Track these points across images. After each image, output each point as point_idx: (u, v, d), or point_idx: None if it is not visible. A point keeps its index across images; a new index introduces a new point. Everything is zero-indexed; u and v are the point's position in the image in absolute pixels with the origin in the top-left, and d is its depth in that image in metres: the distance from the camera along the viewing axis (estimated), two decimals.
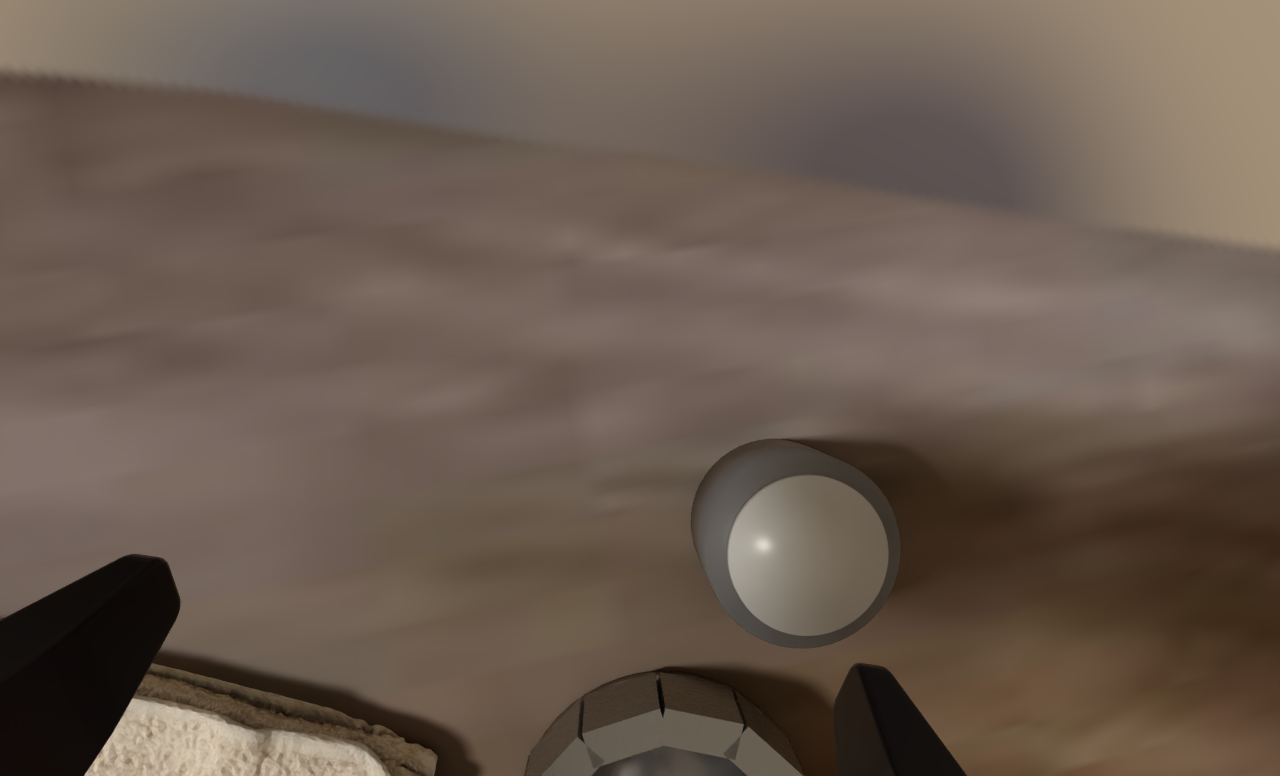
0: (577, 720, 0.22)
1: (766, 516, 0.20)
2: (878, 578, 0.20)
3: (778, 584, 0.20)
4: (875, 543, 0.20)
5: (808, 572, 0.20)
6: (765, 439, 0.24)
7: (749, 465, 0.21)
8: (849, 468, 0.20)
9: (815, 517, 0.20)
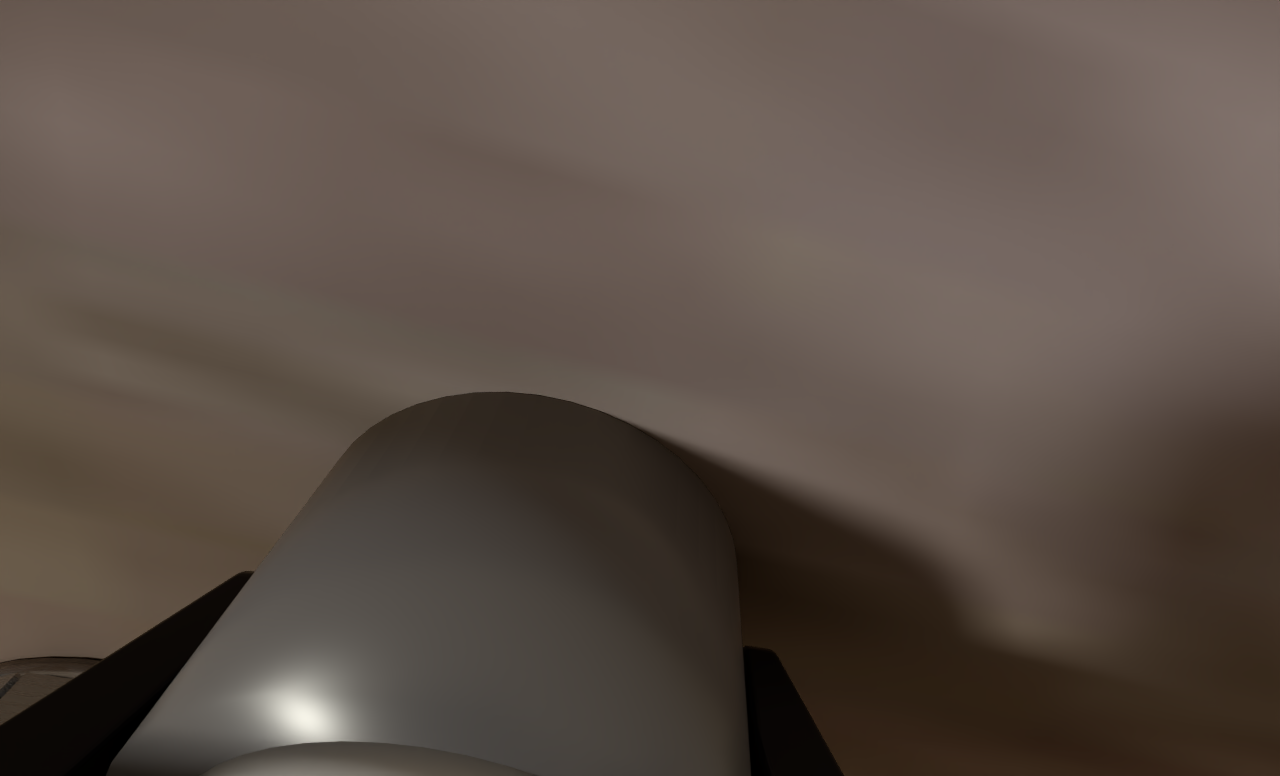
0: None
1: None
2: None
3: None
4: None
5: None
6: (584, 411, 0.08)
7: (359, 613, 0.05)
8: None
9: None
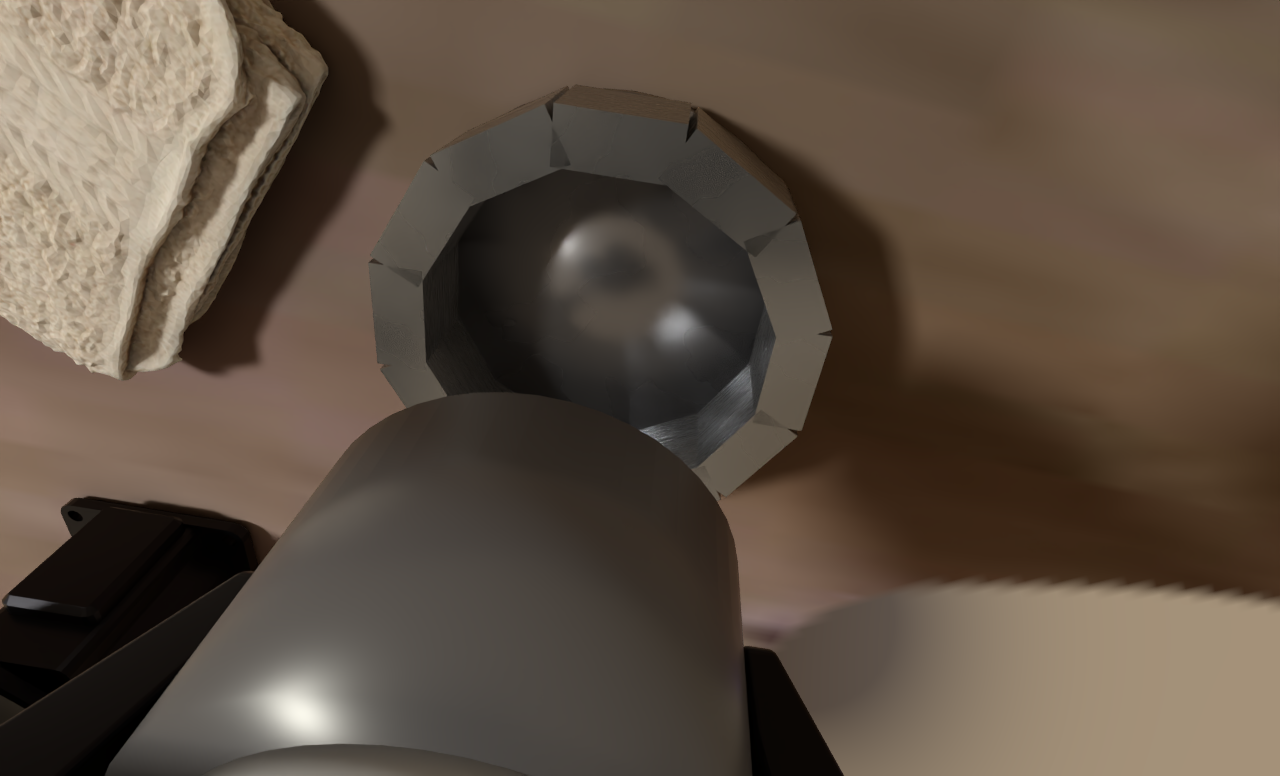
0: (552, 96, 0.14)
1: None
2: None
3: None
4: None
5: None
6: (585, 411, 0.08)
7: (358, 614, 0.05)
8: None
9: None
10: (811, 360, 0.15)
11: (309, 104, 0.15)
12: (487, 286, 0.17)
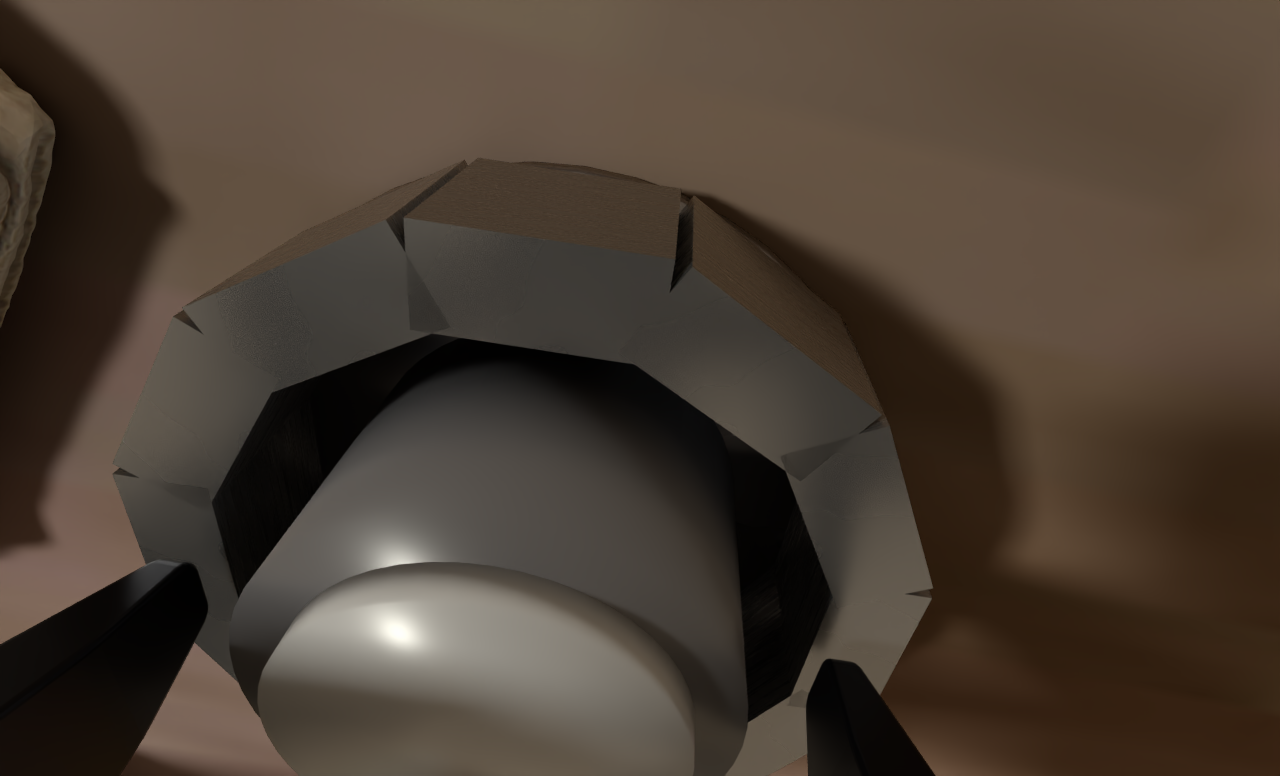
0: (419, 192, 0.07)
1: (385, 652, 0.06)
2: None
3: (378, 762, 0.08)
4: None
5: (461, 771, 0.08)
6: None
7: (437, 470, 0.07)
8: (691, 621, 0.07)
9: (525, 700, 0.07)
10: (892, 629, 0.09)
11: (23, 183, 0.09)
12: None
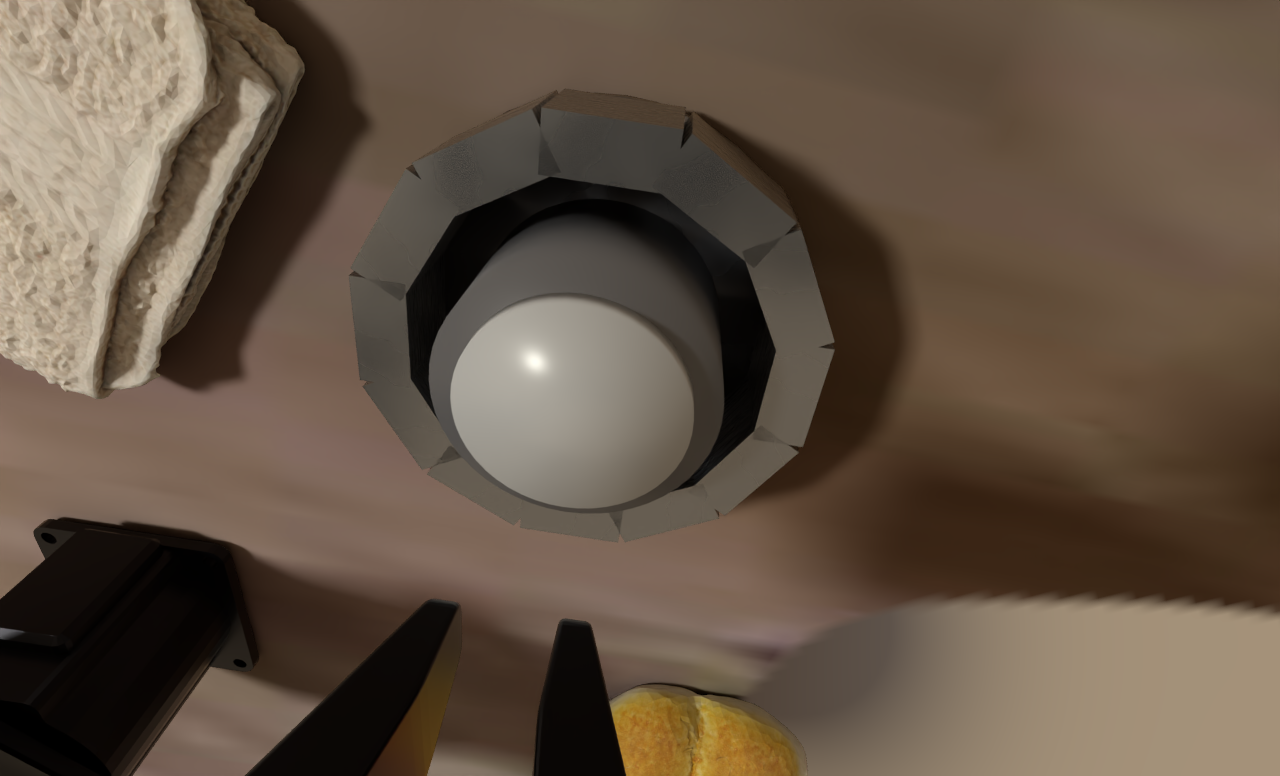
0: (540, 101, 0.13)
1: (529, 340, 0.12)
2: (653, 478, 0.14)
3: (513, 429, 0.13)
4: (671, 440, 0.13)
5: (561, 433, 0.13)
6: (637, 207, 0.15)
7: (553, 249, 0.13)
8: (692, 328, 0.12)
9: (602, 373, 0.12)
10: (813, 374, 0.14)
11: (285, 103, 0.14)
12: None
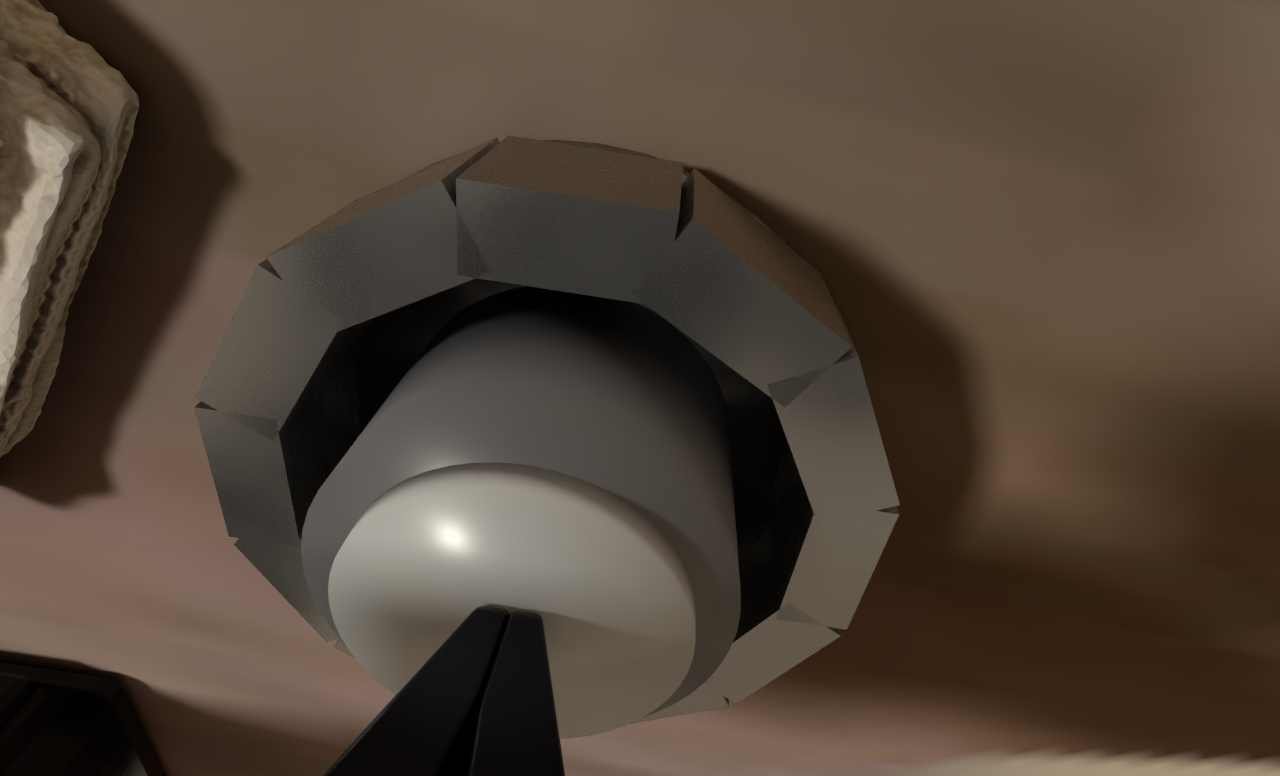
0: (463, 161, 0.09)
1: (439, 537, 0.08)
2: (636, 709, 0.09)
3: (427, 646, 0.09)
4: (661, 666, 0.09)
5: None
6: None
7: (479, 390, 0.08)
8: (692, 513, 0.08)
9: (555, 580, 0.08)
10: (866, 544, 0.10)
11: (112, 150, 0.10)
12: None
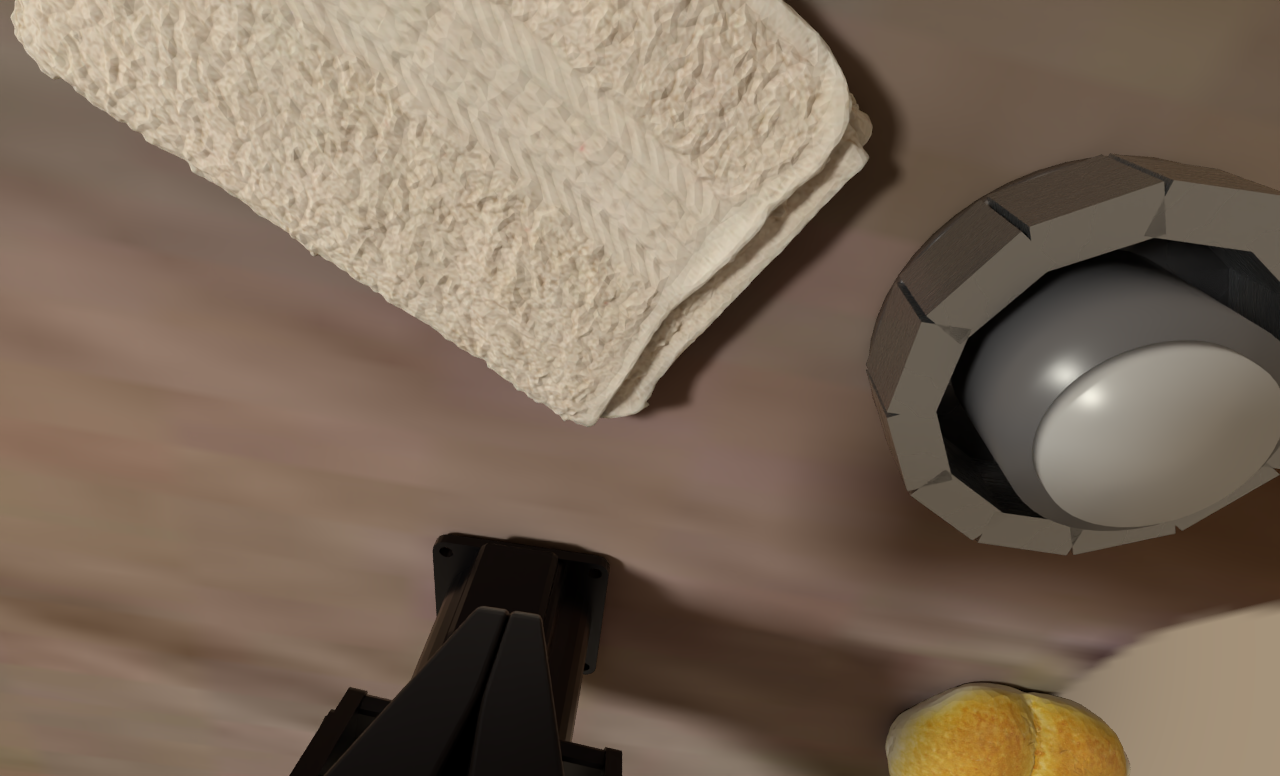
0: (1132, 170, 0.15)
1: (1155, 382, 0.14)
2: (1207, 500, 0.15)
3: (1097, 458, 0.15)
4: (1242, 467, 0.15)
5: (1140, 461, 0.15)
6: (1139, 255, 0.17)
7: (1161, 301, 0.14)
8: None
9: (1209, 410, 0.14)
10: None
11: None
12: None
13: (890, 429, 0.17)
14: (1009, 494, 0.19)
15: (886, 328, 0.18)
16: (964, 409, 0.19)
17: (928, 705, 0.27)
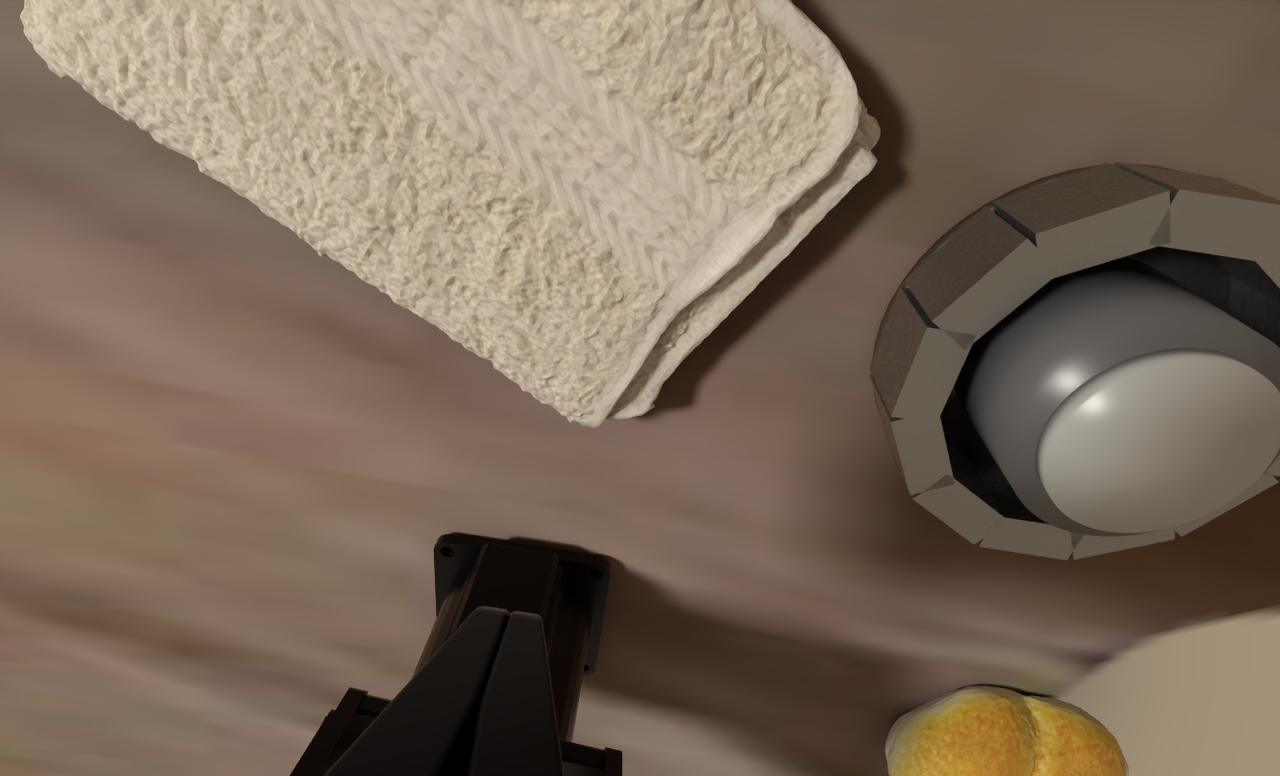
0: (1137, 178, 0.15)
1: (1159, 390, 0.14)
2: (1207, 507, 0.15)
3: (1100, 464, 0.15)
4: (1243, 474, 0.15)
5: (1143, 468, 0.15)
6: (1142, 263, 0.17)
7: (1165, 309, 0.14)
8: None
9: (1211, 417, 0.14)
10: None
11: None
12: None
13: (894, 433, 0.17)
14: (1010, 499, 0.19)
15: (890, 333, 0.18)
16: (967, 414, 0.19)
17: (928, 708, 0.27)
